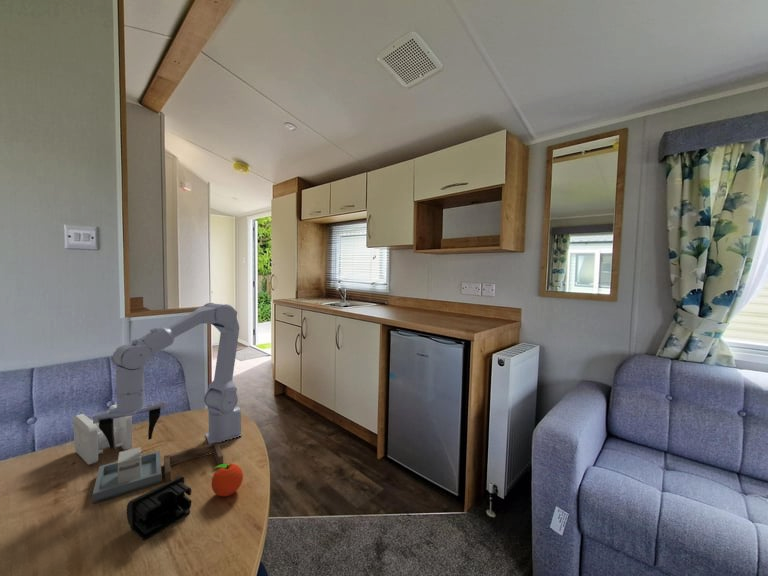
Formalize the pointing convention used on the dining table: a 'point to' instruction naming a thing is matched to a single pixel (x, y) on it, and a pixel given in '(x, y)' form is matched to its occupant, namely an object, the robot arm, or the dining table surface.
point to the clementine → (227, 479)
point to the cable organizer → (100, 436)
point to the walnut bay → (191, 457)
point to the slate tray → (109, 484)
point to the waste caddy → (129, 465)
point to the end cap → (159, 508)
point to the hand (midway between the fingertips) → (131, 442)
